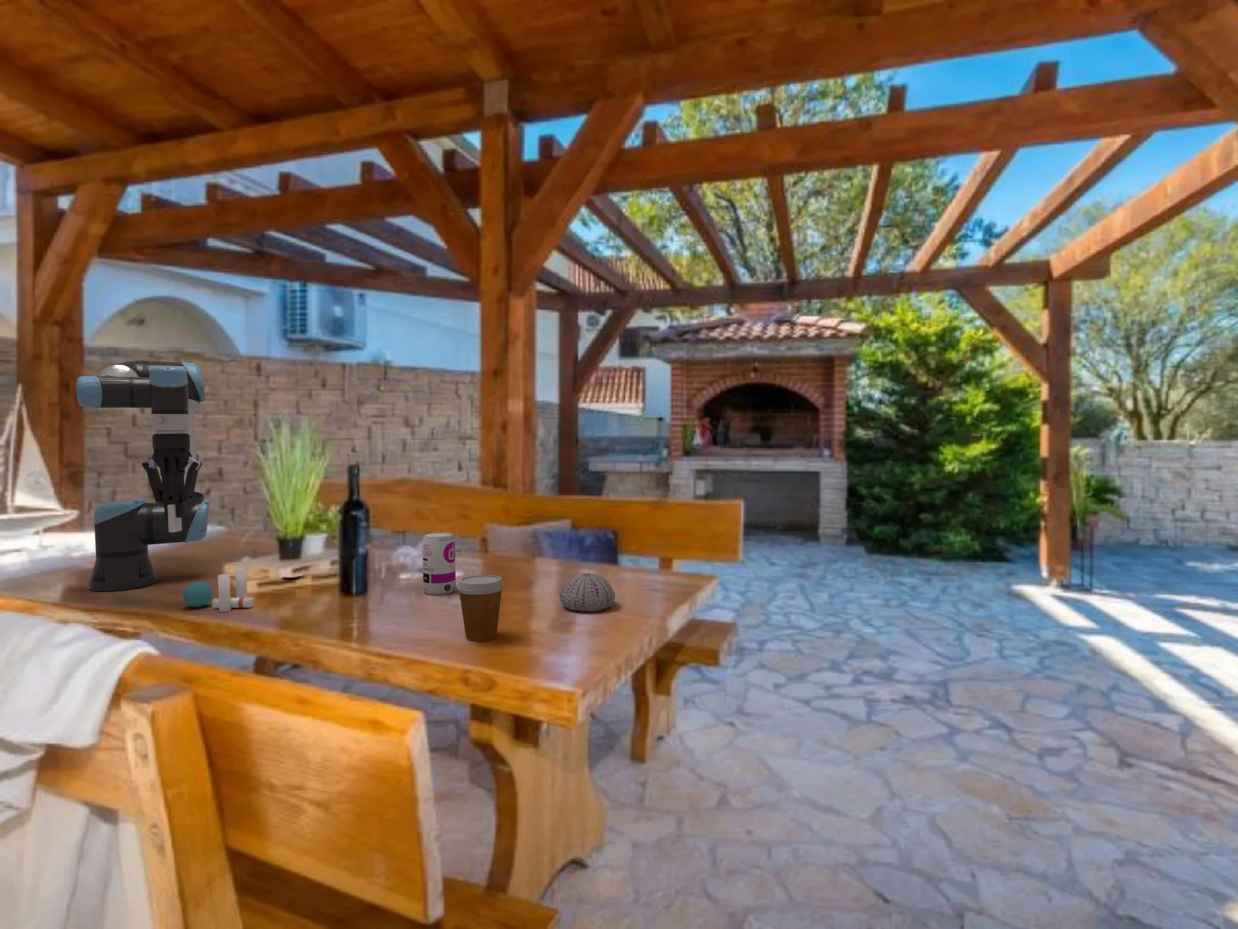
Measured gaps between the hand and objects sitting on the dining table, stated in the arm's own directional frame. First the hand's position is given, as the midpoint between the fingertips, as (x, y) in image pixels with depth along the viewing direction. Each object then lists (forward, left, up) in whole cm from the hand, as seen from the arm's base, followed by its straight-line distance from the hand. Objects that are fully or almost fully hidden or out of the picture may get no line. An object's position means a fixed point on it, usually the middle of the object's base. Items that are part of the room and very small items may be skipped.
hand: (175, 531), depth 166 cm
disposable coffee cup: (+62, +52, -19) cm, 83 cm away
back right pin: (+10, +9, -18) cm, 23 cm away
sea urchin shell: (+54, +82, -19) cm, 100 cm away
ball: (+2, +4, -15) cm, 16 cm away
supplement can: (+20, +58, -19) cm, 64 cm away
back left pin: (+3, +13, -18) cm, 23 cm away
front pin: (+6, +7, -17) cm, 20 cm away
